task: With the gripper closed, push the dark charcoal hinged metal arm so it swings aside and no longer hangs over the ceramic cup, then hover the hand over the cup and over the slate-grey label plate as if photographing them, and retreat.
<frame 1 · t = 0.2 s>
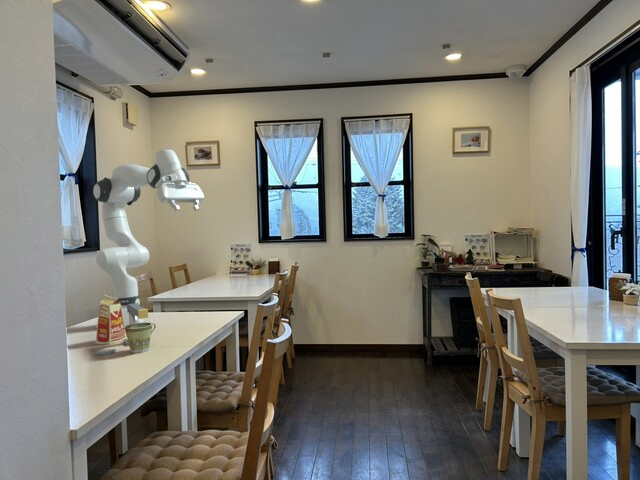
hand: (187, 210, 189), 54 cm above the table, tool tilted 30°, fingers open, 8 cm apart
milk carton: (112, 341, 195), on the table
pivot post: (135, 342, 191), on the table
ceramic cup: (143, 350, 179), on the table
swing arm: (137, 310, 184), point 15 cm above the table, hinge at 0.0°
label plate: (105, 352, 177), on the table
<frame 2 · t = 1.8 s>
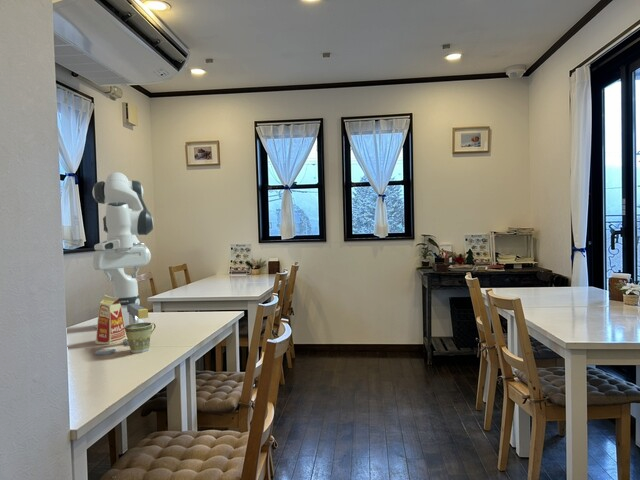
hand: (122, 279, 176), 28 cm above the table, tool pointing down, fingers open, 8 cm apart
nothing on the table moved.
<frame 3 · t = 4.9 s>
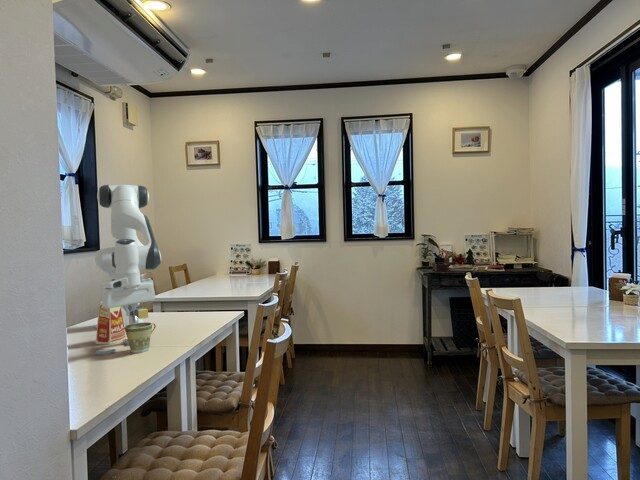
hand: (130, 315, 179), 13 cm above the table, tool pointing down, fingers closed
swing arm: (137, 310, 184), point 15 cm above the table, hinge at 0.0°, touching gripper
everything else where it was.
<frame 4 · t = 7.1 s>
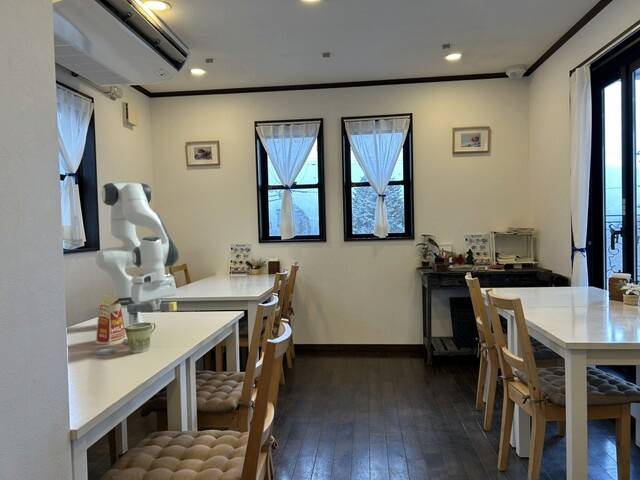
hand: (156, 310, 186), 14 cm above the table, tool pointing down, fingers closed
swing arm: (151, 307, 189), point 14 cm above the table, hinge at 51.0°, touching gripper
everything else where it was.
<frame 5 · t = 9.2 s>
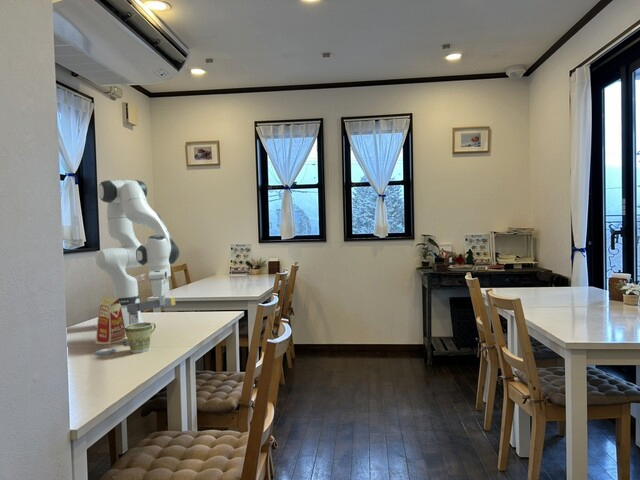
hand: (162, 304, 196), 14 cm above the table, tool pointing down, fingers closed
swing arm: (151, 304, 196), point 15 cm above the table, hinge at 100.5°, touching gripper
everything else where it was.
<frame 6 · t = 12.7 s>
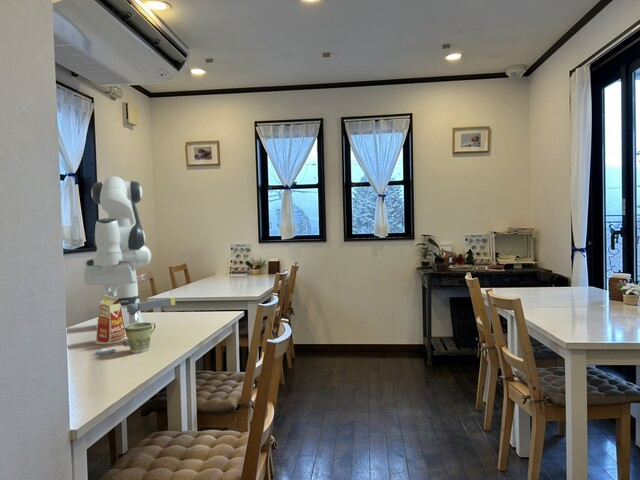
hand: (112, 295, 176), 22 cm above the table, tool pointing down, fingers closed
swing arm: (151, 304, 196), point 14 cm above the table, hinge at 100.7°
everything else where it was.
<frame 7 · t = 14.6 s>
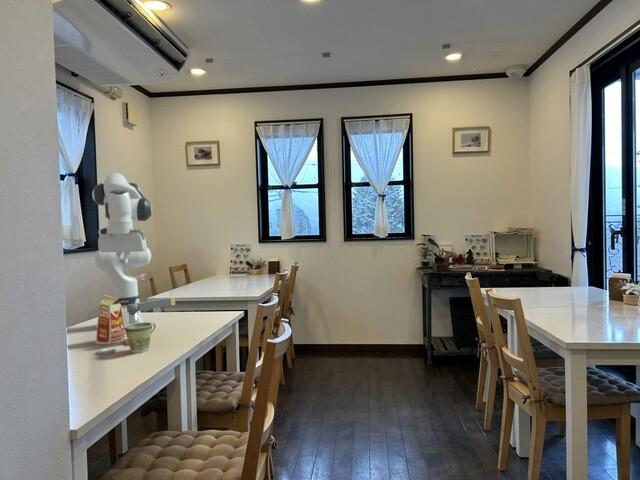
hand: (123, 262, 189), 34 cm above the table, tool pointing down, fingers closed
nothing on the table moved.
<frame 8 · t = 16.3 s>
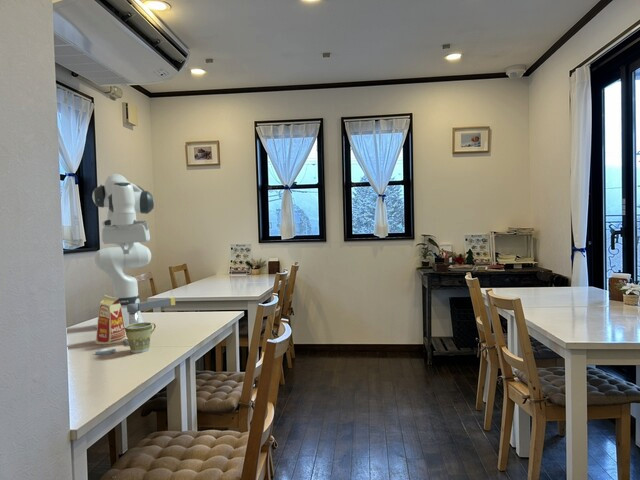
hand: (127, 253, 191), 37 cm above the table, tool pointing down, fingers closed
nothing on the table moved.
at the end: swing arm at +101° (first picture: +0°); ceramic cup moved 0.2 cm from its start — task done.
